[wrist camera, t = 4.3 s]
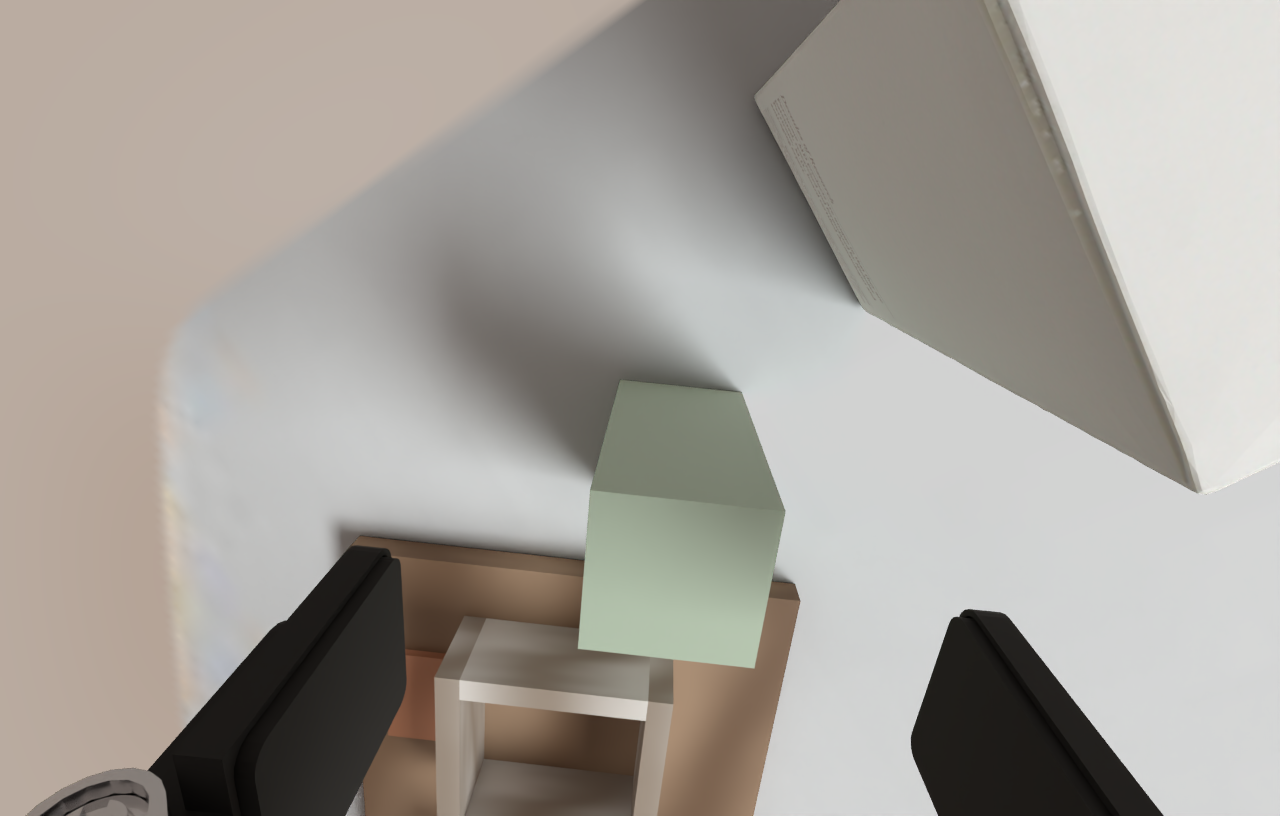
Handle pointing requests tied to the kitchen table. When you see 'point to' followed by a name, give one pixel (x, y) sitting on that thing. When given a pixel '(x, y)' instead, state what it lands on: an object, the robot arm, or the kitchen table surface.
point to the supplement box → (1062, 204)
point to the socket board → (560, 702)
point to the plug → (680, 529)
